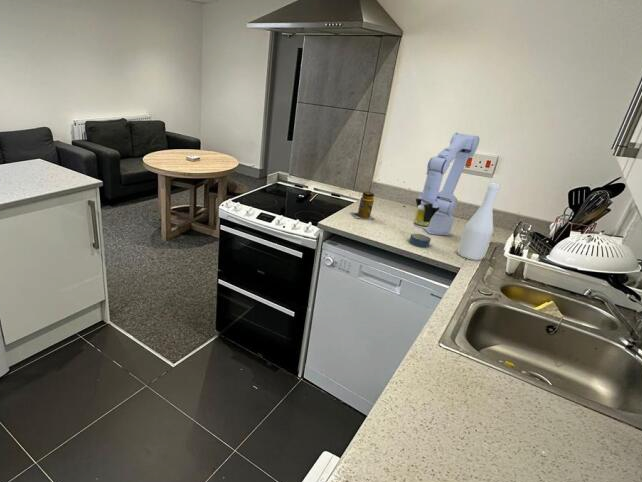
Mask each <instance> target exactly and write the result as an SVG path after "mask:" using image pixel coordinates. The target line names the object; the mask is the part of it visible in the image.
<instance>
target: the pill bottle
mask: <svg viewBox="0 0 642 482" xmlns="http://www.w3.org/2000/svg"><path fill="white" fill-rule="evenodd" d="M424 205H429V202H427V201H424V200H422V201H421V205H419V206H418V208H417V207H416V212H415V215H414V219H413V222H412V225H413V226H414V227H415V228H418V229H423V230H425V229H427V228H428V227H429V225H430V222H424V214H425V208H424ZM430 221H431V220H430Z"/></svg>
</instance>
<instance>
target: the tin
mask: <svg viewBox="0 0 642 482" xmlns="http://www.w3.org/2000/svg"><path fill="white" fill-rule="evenodd" d="M408 241H409V244H411V245H413V246H415V247H418V248H428V247H429V246H430V243H431V238H430V236H427V235H425V234H422V233H411V234H410V237H409V240H408Z"/></svg>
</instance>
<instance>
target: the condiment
mask: <svg viewBox="0 0 642 482" xmlns="http://www.w3.org/2000/svg"><path fill="white" fill-rule="evenodd" d="M361 196H362V197H360V200H359V201H360V202H359V205H358V211H357V212H351V215H352V216H353V217H354V218H356V219H366V220H373V219H374V218H373V217H372V216H371V214H372V210H373V206H374V201H375V199H374V197H375V193H374V192H371V191H363V192H362V195H361Z"/></svg>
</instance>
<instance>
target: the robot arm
mask: <svg viewBox="0 0 642 482" xmlns="http://www.w3.org/2000/svg"><path fill="white" fill-rule="evenodd" d="M479 143H480V136H479V135H472V134H467V133H466V134H465V133H459V132H454V133H453V135H452V136H451V138H450V141H449V146H448V147H445V148H443V149H442V150H441V151H440V152H439V153H438V154H437V155H436V156H432V157H430V159H429V160H428V163H427V164H426V165H427V166H426V178H425V182H424V185H423V190H422V192H419V193H418V196H417V198H416V199H415V202H416V209H417V208H418V206H419V205H421V201H422V200H424V201H427V202H429V205H424V208H425V214H424V222H430V225H429V227H428V228H427V229H424V230H425V232H427V233H428V234H430V235H437V236H438V235H439V236H441V235H442V236H451V231H452V227H453V224H454V215H453V214H454V213H455V211H456V208H457V205H458V204H457V203H458V198H457V196H455V194H454V192H455V191H456V188H457V186H458V183H459V181H460V179H461V176H462V173H463V170H464V168H465V166H466V164H467V161H468V160H469V158H473V157H474V156H475V154H476V152H477V149H478V147H479ZM451 163H452V165H451ZM450 166H451V167H450ZM449 167H450V169H449ZM448 169H449V172H448V175H447V177H446V179H445V182H444V183H443V186H442V189H441V185H442V182H443V180H444V175H445V174H446V173H447V171H448ZM440 189H441V190H440ZM430 220H431V221H430Z"/></svg>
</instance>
